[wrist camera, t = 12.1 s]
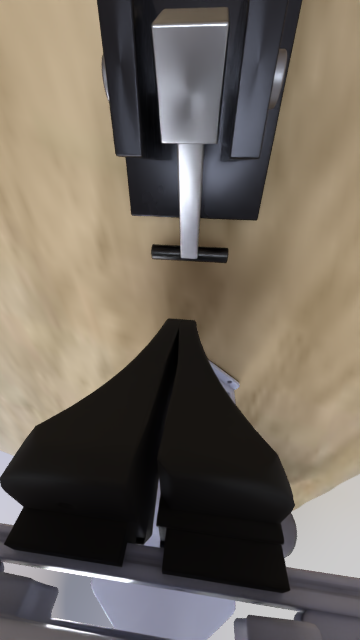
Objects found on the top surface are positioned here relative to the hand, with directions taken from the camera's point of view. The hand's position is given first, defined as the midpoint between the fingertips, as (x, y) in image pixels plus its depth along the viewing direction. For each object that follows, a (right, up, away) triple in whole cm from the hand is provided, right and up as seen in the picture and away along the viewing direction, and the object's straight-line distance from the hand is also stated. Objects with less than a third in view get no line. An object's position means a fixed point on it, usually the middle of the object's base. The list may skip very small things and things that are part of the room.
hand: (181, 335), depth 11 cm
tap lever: (+1, +9, +1) cm, 9 cm away
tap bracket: (+1, +13, +3) cm, 14 cm away
